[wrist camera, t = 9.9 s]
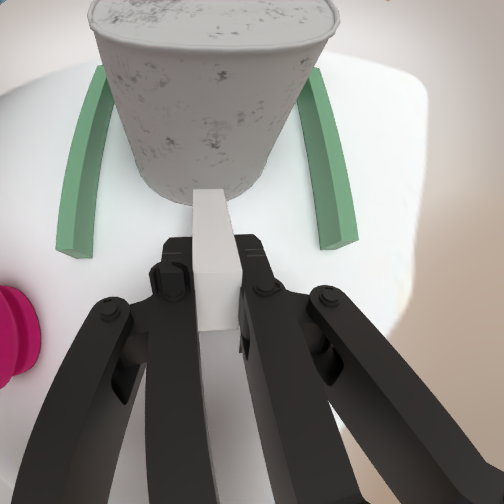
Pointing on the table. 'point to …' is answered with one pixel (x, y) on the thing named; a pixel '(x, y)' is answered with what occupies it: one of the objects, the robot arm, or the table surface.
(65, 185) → the putting stop
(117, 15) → the concrete cylinder
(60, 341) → the table surface
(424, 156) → the table surface
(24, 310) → the pepper mill
